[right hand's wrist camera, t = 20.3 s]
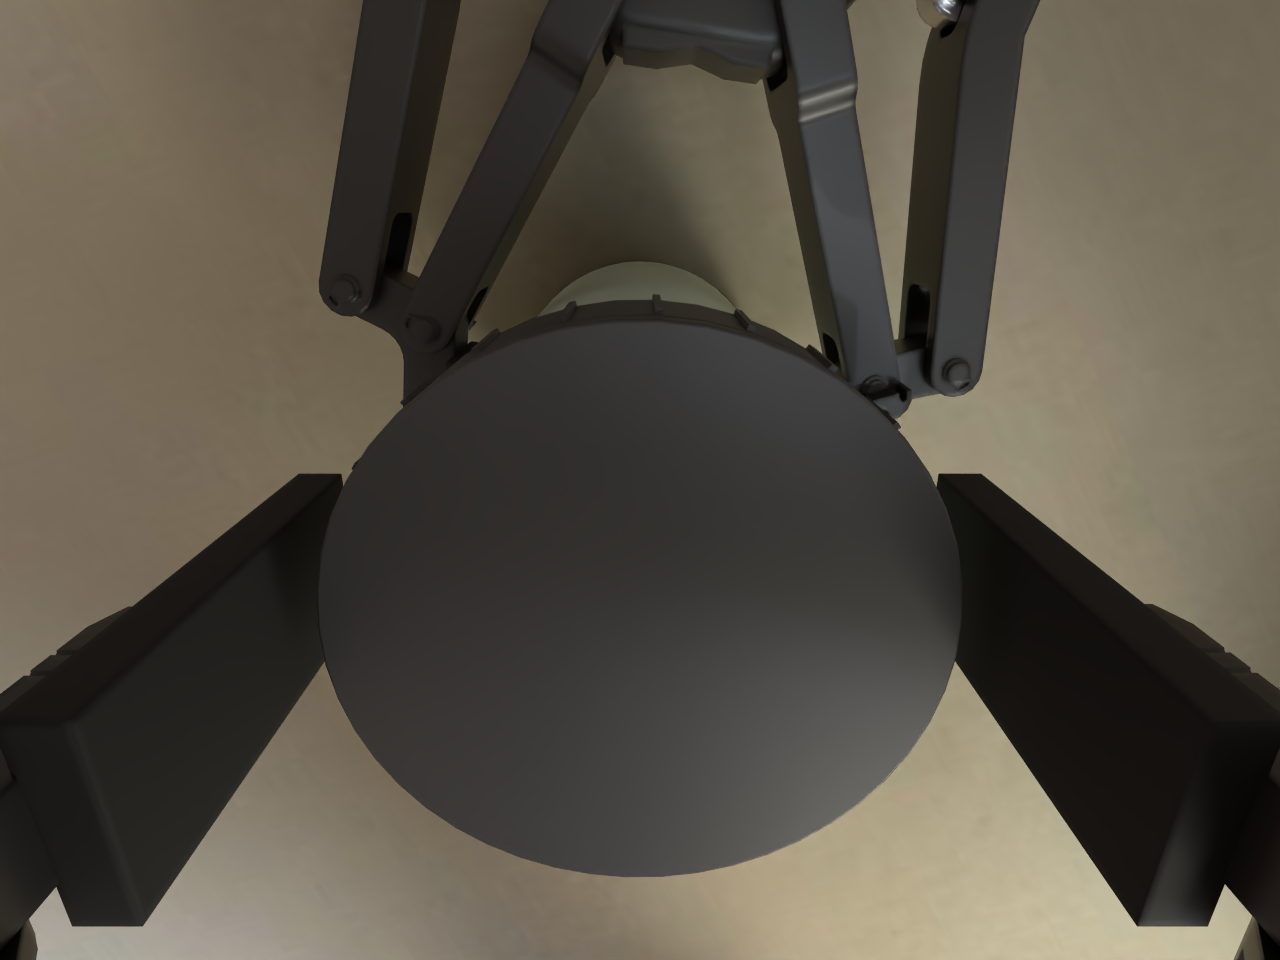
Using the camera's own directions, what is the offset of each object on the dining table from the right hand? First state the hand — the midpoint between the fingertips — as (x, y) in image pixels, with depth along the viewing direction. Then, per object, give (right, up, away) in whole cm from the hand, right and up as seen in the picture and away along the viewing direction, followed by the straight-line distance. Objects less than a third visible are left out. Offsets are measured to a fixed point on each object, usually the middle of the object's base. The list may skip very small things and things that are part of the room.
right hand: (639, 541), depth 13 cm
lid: (0, -1, -3) cm, 3 cm away
